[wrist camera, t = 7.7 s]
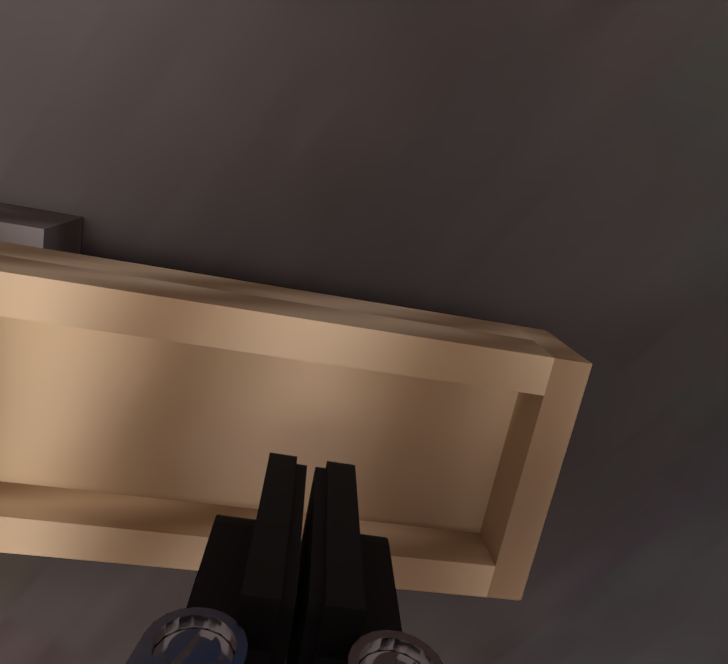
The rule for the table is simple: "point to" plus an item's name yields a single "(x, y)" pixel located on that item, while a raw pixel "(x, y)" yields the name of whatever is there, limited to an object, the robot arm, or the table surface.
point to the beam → (265, 414)
